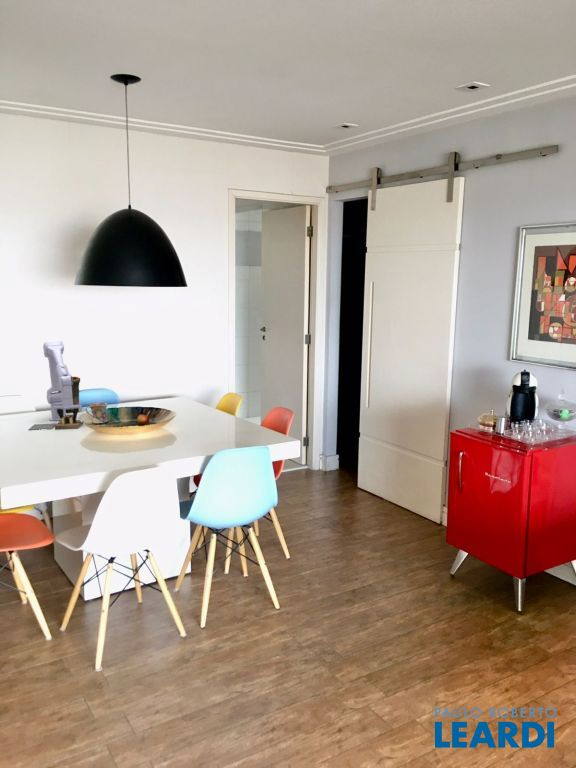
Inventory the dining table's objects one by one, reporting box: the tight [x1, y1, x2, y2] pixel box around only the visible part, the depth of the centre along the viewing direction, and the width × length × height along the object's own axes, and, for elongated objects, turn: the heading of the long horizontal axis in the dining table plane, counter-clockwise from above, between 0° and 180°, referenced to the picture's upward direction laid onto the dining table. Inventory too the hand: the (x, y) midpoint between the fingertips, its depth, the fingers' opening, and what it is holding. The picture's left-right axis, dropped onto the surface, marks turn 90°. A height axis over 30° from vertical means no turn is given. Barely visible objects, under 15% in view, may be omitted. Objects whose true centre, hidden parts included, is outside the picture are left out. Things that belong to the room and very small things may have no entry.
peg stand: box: [54, 417, 84, 431], centre depth 358 cm, size 12×12×5 cm
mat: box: [27, 422, 58, 431], centre depth 358 cm, size 12×12×1 cm
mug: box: [85, 401, 109, 423], centre depth 363 cm, size 12×9×11 cm
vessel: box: [57, 376, 81, 415], centre depth 395 cm, size 14×14×20 cm
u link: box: [60, 414, 74, 425], centre depth 357 cm, size 8×6×4 cm
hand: (68, 422), depth 358 cm, fingers closed on u link, 6 cm apart
